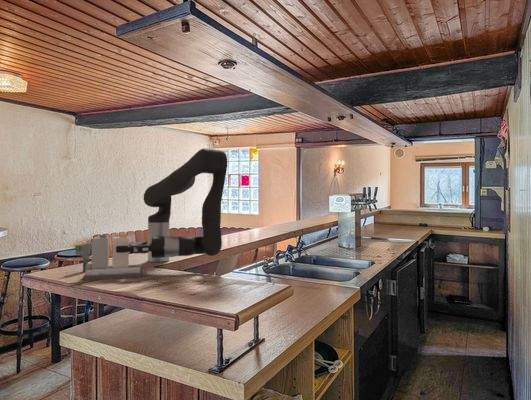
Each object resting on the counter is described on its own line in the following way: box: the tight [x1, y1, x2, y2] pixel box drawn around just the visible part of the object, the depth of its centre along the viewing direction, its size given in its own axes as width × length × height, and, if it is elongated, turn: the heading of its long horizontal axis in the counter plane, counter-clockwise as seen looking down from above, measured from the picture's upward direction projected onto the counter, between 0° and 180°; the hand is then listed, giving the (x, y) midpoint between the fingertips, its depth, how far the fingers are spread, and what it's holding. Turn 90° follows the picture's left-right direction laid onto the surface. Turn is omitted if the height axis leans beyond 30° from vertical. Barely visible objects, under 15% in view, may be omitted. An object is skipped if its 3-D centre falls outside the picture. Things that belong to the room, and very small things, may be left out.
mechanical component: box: [74, 242, 92, 272], centre depth 142 cm, size 3×10×10 cm, turn 174°
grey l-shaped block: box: [82, 234, 143, 281], centre depth 132 cm, size 12×18×14 cm, turn 108°
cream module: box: [111, 233, 130, 268], centre depth 133 cm, size 4×5×13 cm
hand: (116, 248), depth 133 cm, fingers open, 8 cm apart
